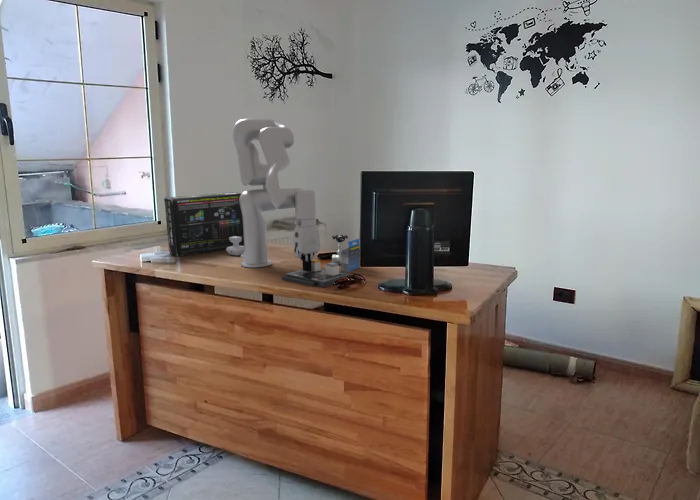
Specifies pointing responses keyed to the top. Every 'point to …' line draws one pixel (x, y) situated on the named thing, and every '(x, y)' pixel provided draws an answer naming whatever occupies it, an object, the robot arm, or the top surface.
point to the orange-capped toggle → (315, 265)
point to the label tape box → (350, 257)
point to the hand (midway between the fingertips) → (307, 270)
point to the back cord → (341, 272)
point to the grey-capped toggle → (332, 269)
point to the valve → (338, 257)
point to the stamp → (235, 246)
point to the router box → (203, 222)
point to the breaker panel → (316, 277)
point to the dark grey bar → (298, 281)
